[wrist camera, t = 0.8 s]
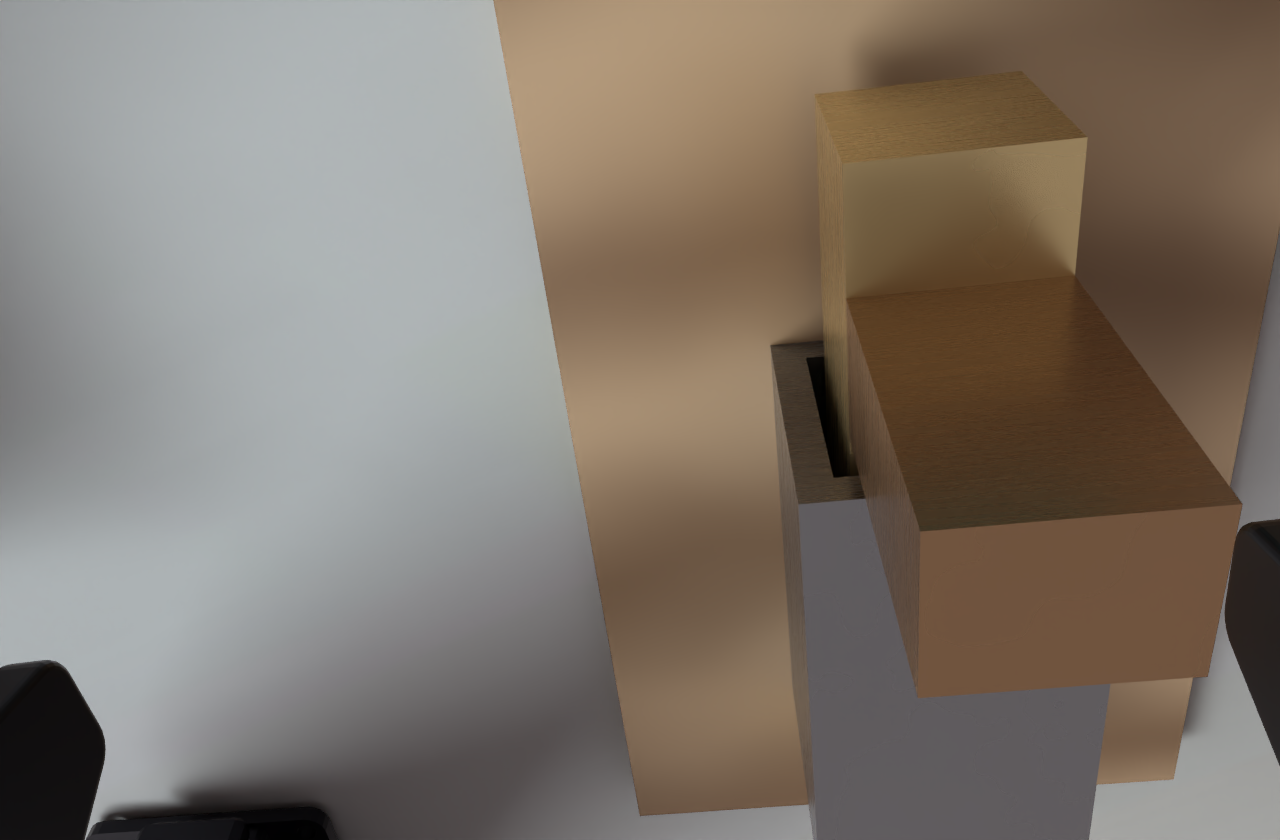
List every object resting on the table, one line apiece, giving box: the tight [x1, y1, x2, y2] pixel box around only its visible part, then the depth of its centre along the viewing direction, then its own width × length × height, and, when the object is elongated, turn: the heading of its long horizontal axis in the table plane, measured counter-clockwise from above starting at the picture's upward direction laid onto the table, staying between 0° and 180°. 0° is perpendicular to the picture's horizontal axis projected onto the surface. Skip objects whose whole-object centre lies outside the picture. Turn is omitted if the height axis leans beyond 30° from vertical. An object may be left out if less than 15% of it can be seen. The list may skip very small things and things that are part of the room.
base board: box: [493, 0, 1280, 816], centre depth 21 cm, size 28×13×1 cm, turn 7°
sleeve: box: [770, 340, 1110, 840], centre depth 21 cm, size 9×5×5 cm, turn 7°
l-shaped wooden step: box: [814, 71, 1242, 698], centre depth 19 cm, size 17×3×9 cm, turn 7°
